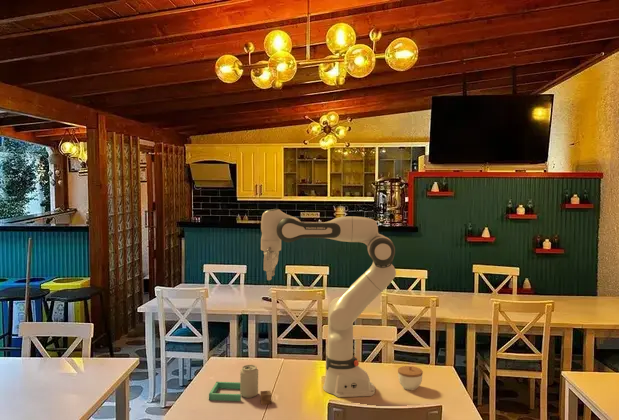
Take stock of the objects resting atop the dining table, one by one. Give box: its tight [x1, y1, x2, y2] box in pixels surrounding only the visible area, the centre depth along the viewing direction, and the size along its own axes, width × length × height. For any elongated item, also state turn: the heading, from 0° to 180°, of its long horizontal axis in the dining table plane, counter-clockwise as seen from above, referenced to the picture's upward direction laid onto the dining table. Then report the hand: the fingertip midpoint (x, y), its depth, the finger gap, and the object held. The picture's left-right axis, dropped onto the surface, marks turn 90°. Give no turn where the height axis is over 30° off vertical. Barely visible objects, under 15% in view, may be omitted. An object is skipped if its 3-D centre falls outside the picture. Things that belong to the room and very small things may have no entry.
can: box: [239, 364, 259, 399], centre depth 211 cm, size 8×8×12 cm
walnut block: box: [259, 390, 272, 406], centre depth 204 cm, size 4×4×4 cm
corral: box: [208, 381, 242, 402], centre depth 212 cm, size 13×13×2 cm
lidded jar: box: [397, 365, 424, 391], centre depth 221 cm, size 11×11×9 cm
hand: (270, 277), depth 218 cm, fingers open, 8 cm apart
